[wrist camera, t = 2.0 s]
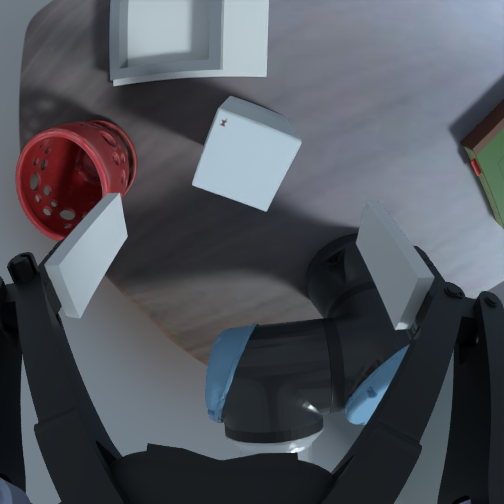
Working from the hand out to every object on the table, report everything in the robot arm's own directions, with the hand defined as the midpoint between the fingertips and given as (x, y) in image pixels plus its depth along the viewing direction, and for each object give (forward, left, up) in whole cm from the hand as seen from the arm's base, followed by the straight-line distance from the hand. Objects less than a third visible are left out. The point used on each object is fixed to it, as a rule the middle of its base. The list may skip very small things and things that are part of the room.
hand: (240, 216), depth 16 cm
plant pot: (-3, +20, -23) cm, 30 cm away
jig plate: (+14, +7, -23) cm, 28 cm away
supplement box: (0, 0, -23) cm, 23 cm away
